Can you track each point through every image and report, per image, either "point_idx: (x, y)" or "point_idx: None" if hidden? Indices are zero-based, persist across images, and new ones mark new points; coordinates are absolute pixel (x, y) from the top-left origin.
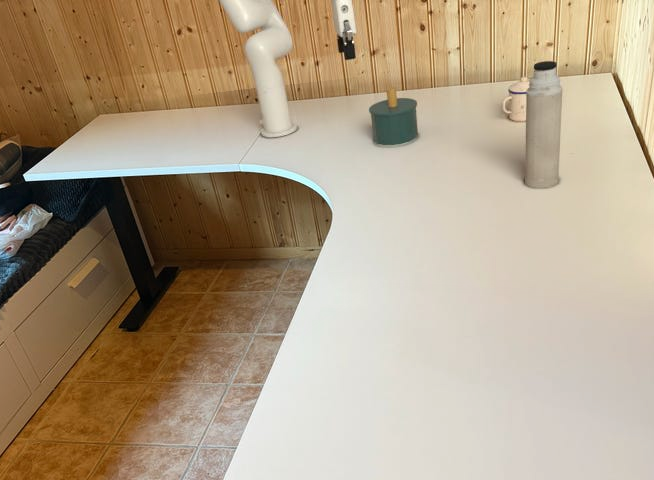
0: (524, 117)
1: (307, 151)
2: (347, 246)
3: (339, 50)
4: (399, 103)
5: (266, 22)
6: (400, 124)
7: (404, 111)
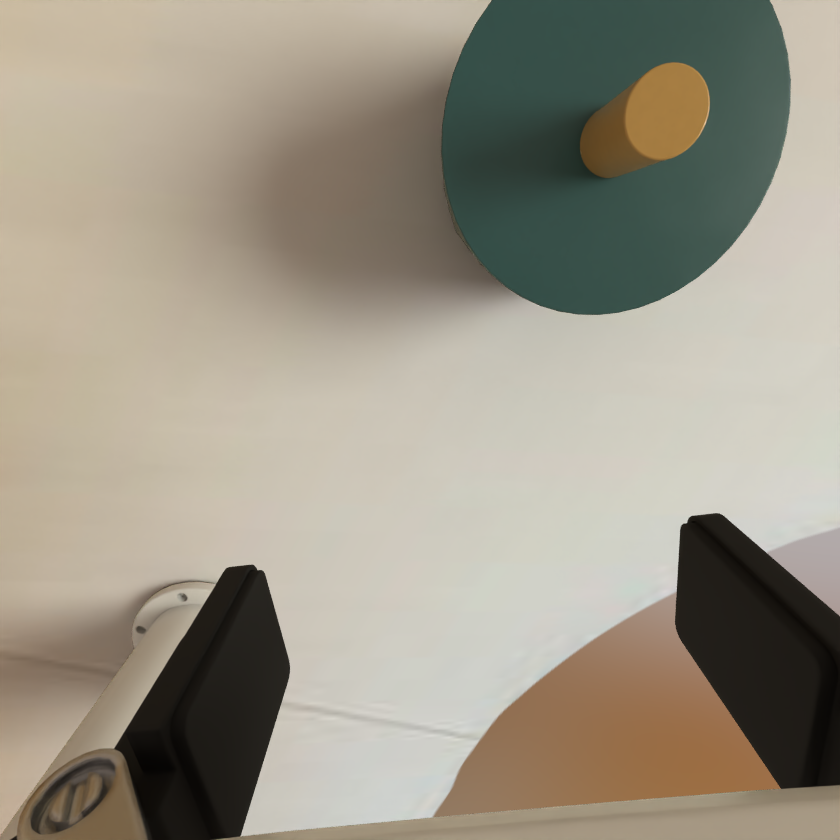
0: None
1: (491, 551)
2: None
3: (282, 690)
4: (593, 81)
5: None
6: None
7: (788, 69)
